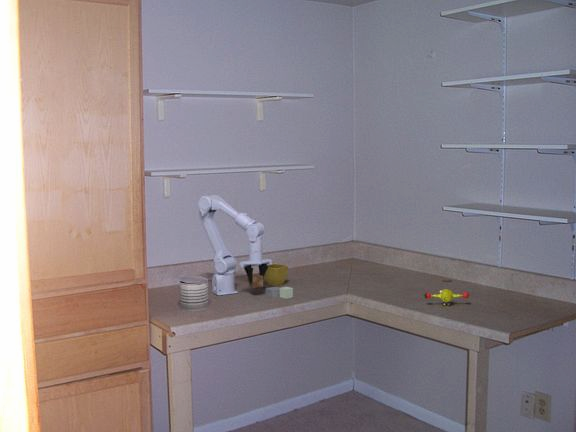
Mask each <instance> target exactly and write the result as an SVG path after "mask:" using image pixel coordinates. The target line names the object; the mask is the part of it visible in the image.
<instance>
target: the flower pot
mask: <svg viewBox="0 0 576 432" xmlns="http://www.w3.org/2000/svg"><path fill="white" fill-rule="evenodd" d="M267 265H268V269H267V270H266V273H265V275H264V281H265V282H266V283H267V285H269V286H272V287H279V286H282V285H284V283H285V281H286V280H287V277H288V272H289V271H288V270H289V265H287V264H286V265H285V264H278V263H272V264H267Z"/></svg>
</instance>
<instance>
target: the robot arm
mask: <svg viewBox="0 0 576 432" xmlns="http://www.w3.org/2000/svg"><path fill="white" fill-rule="evenodd" d="M197 207H198V209H199V210H198V213H199V214H198V215H199V220H200V222H201V224H202V227H203V229H204V232H205V234H206V237H207V239H208V242H209V243H210V246H211V248H212V250H213V253H214V257H213V263H214V269H215V271H216V273H214V274H213V275H212V278H211V280H212V281H211V283H212V284H211V285H212V290H211V292H212V293H213V294H215V295H217V296H225V295H226V296H227V295H233V294H238V293H239V292H238V291H237V290H235V289H236V288H235V286H236V285H235V270H236V268H237V267H238V262H237V259H236V257H235V256H233V255H232V252H231V251H229V250H228V249H227V247H226V245H225V243H224V241H223V238H222V236H221V233H220V230H219V229H218V227H217V225H216V222H215V220H214V215H215V213H216V212H217V211H220V212H223V213H224V214H225V215H227V216H228V217H231V218H232V219H233V220H234V224H236V226H238V227H240V229H242V230H244V232H246V235H247V236H248V260H245V261H240V262H239V267H240V268H243V269H244V271H245V273H246V276H247V279H248V284H249V283H252V275H254V274H253V273H254V268H253V267H257V266H258V274H259V275H261V276H263V280H265V278H264V275H265V273H266V270H267V269H268V265H271V264H273V263H272V262H273V259H269V258H268V259H263V235H264V233H265V230H266V229H265V226H264V224H263V223H262V222H259V221H258V222H257V221H256V219H252V218H251V217H250V216H249V215H248V213H247V212H239V211H237V210H236V209H235V208H233V207H232V206H231V205H230V204H229V203H228V202H226V201H225V200H224V198H222V197H221V196H220V195H218V194H212V195H203V196H201V197H200V198H199V201H198V203H197Z"/></svg>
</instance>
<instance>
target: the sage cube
mask: <svg viewBox="0 0 576 432" xmlns="http://www.w3.org/2000/svg"><path fill="white" fill-rule="evenodd" d="M293 297H294V288H293V287H290V286H283V287H280V296H279V298H283V299H290V298H293Z"/></svg>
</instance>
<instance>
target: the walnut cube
mask: <svg viewBox="0 0 576 432" xmlns="http://www.w3.org/2000/svg"><path fill="white" fill-rule="evenodd" d="M248 286H250V287H251V288H254V289H255V288H263V287H264V279H263V276H261V275H259V273H257V274H252V283H249V282H248Z"/></svg>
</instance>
